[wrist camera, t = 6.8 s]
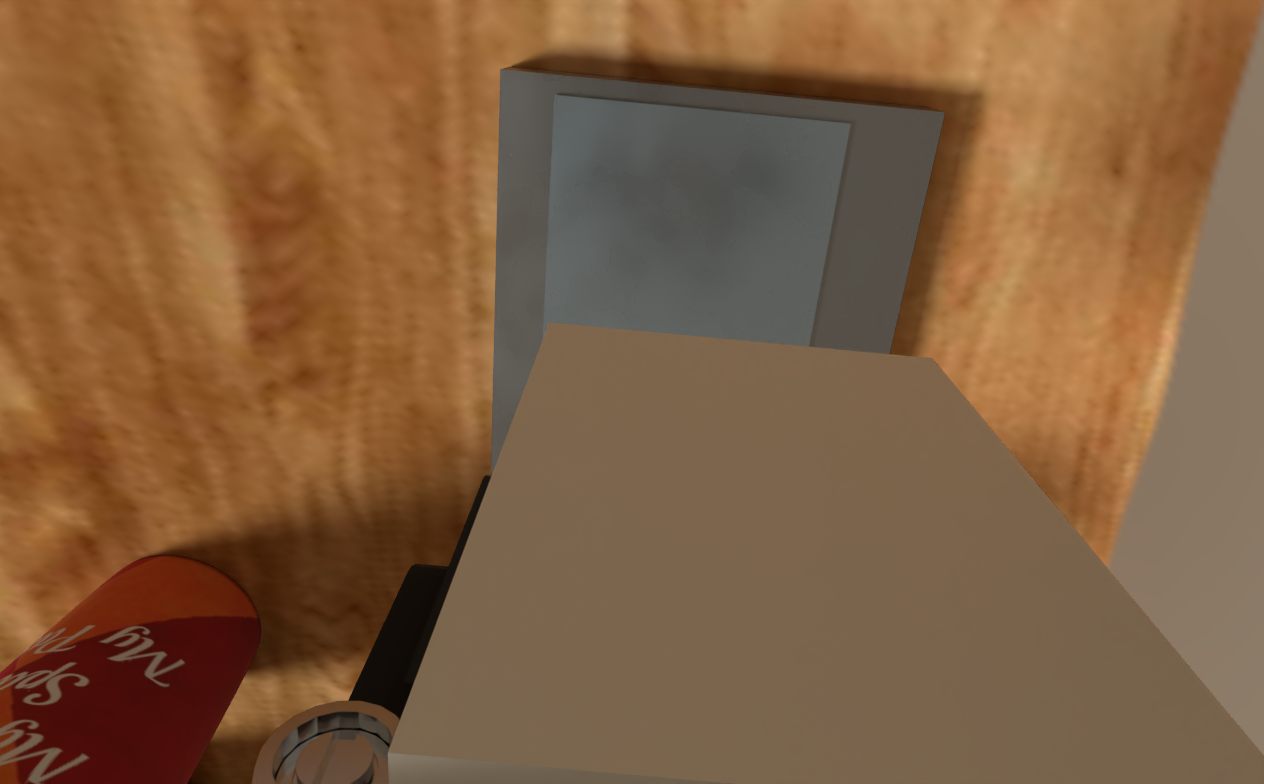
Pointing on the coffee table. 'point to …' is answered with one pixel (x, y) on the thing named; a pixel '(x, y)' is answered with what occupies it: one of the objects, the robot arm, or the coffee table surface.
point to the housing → (786, 592)
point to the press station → (699, 215)
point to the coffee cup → (129, 679)
